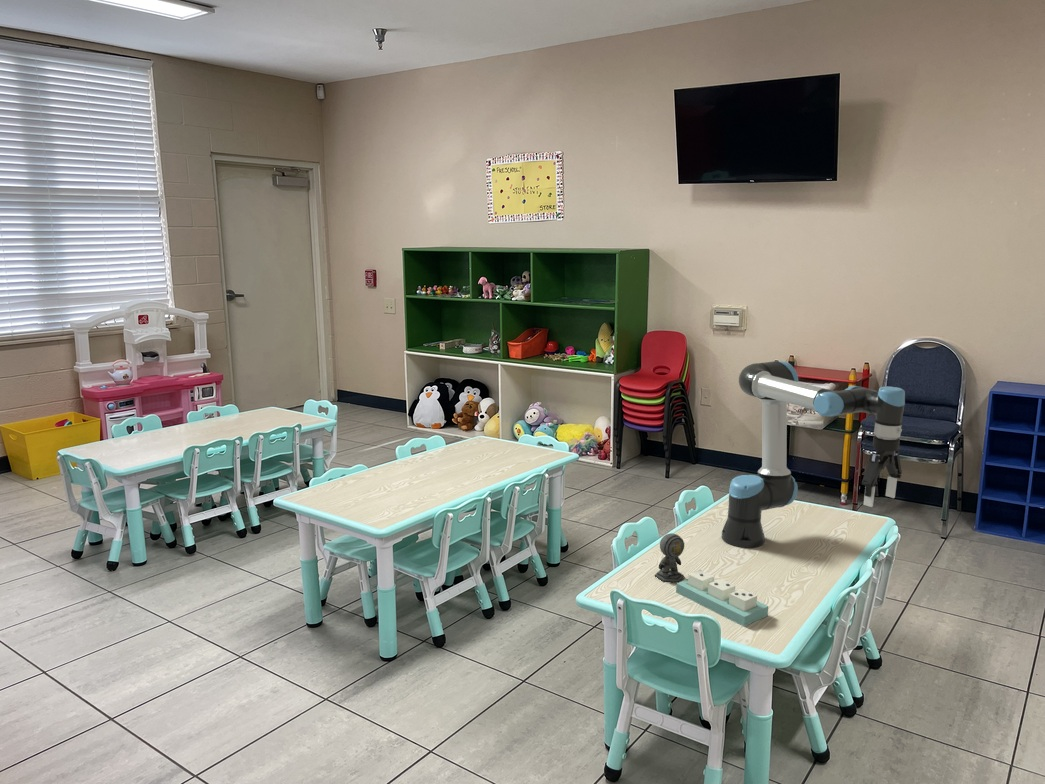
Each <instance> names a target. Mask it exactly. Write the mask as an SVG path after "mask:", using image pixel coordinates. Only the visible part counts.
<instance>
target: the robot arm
mask: <svg viewBox="0 0 1045 784" xmlns="http://www.w3.org/2000/svg"><path fill="white" fill-rule="evenodd" d="M738 385H739V387H740V389H741V391H742V392H743V393H745V394H746V395H748V396H750V397H754V398H757V399H758V400H759V402H760V403H761V406H762V407H761V408H762V409H761V411H762V412H761V442H762V444H761V446H762V447H761V459H762V460H761V467H760V468H759V469H758V470H757V475H756V474H742V475H737V476H735V477H734V478H732V480H731V481H730V485H729V490H728V493H729V494H728V510H727V519H726V521H725V523H724V525H723V529H722V530H721V540H723V541H724V542H725V543H726V544H729V545H732V546H735V547H740V548H757V547H760V546H763V545H764V543H765V539H766V538H765V533H764V530H763V525H762V511H767V510H771V509H776V508H783V507H785V506H789V505H791V504H792V503H793V502H794V501H796V498H797V496H798V490H799V489H798V483H797V482H796V479H795V478H794V477H793V476H792V471H791V470H790V469H789V468H788V466H787V464H788V463H787V460H788V459H787V454H788V453H787V452H788V451H787V450H788V449H787V445H788V444H787V442H788V441H787V438H788V437H787V435H788V434H787V433H788V431H787V428H788V427H787V425H788V424H787V422H788V417H787V416H788V415H787V414H788V411H787V410H788V408H787V407H788V404H791V405H794V406H798V407H802V408H805V409H809V410H812V411H816V413H817V414H818V415H819V416H822V417H829V418H833V417H837V416H842V415H843V416H844V415H848V414H856V413H866V414H870V415H874V416H875V421H874V429H873V434H874V436H873V440H872V448H873V449H875V450H876V451H875V454H873V453H870V454H869V455H870V456H869V461H868V463H867V466H866V469H865V471H864V474H863V478H862V480H861V485H863V486H865V487H864V488H865V489H864V496H863V503H862V504H863V506H867V507H870V508H873V507H874V502H875V501H874V500H875V493H876V492H875V491H876V486H875V484H876V482H877V480H878V478H879V475H880V474H881V472H882V470H884V469H885V467H886V469H887V472H888V475H889V476H887V481H886V487H885V488H886V489H885V497H889V498H891V499H895V498H896V492H897V491H896V490H897V483H898V479H901V477H902V474H903V472H902V464H901V459H900V445H901V444H900V441H901V439H900V437H901V434H902V431H903V429H902V424H903V415H904V411H905V405H906V393H905V392H906V391H905V390H904V389H903V388H901V387H896V386H895V387H894V386H889V385H888V386H886V385H885V386H881V387H879V389H878V390H875V389H870V388H867V387H863V386H860V385H858V386H857V385H849V386H848V387H847V388H845V389H844V390H843V389H842V390H832V389H829V388H824V387H821V386H816V385H813V384H808V383H804V382H801V381H800V382H799V376H798V372H797V370H796V368H794V367H793V365H792V363H791V364H790V363H789V362H788V361H782V360H779V361H778V360H776V361H775V360H774V361H768V362H767V361H766V362H758V363H757V362H756V363H752V364H748V365H747V366H745V367H744V368H743V369H742V370H741V372H740V373H739V376H738Z"/></svg>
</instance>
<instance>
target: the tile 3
mask: <svg viewBox="0 0 1045 784" xmlns="http://www.w3.org/2000/svg"><path fill="white" fill-rule="evenodd" d="M757 601H758V595H756V594H754V593H752V592H750V591H747V590H745V589H743V588H740V589H738V590H735V592H732V593H730V594H729V605H731V606H733V607H735V608H737V609H739V610H741V611H743V612H746V611H748V610H750V609H753V608H755V607H756V605H757Z"/></svg>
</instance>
